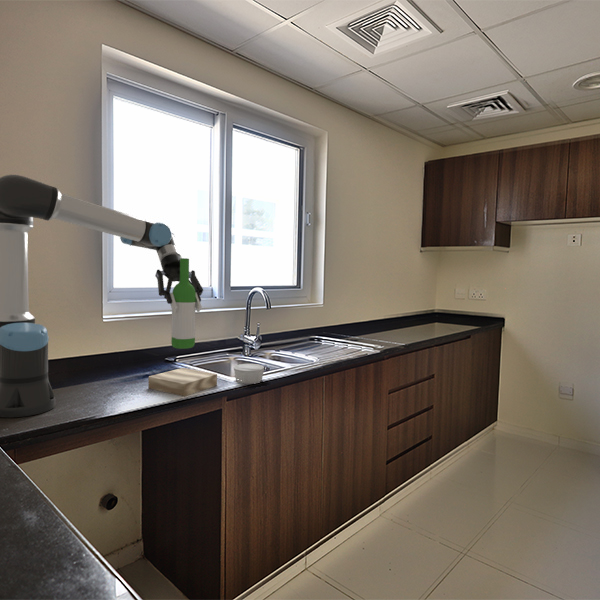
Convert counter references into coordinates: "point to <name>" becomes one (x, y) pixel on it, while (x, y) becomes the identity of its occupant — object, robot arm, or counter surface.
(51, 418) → the counter surface
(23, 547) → the counter surface
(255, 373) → the ramekin
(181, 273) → the wine bottle
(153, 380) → the birch base
